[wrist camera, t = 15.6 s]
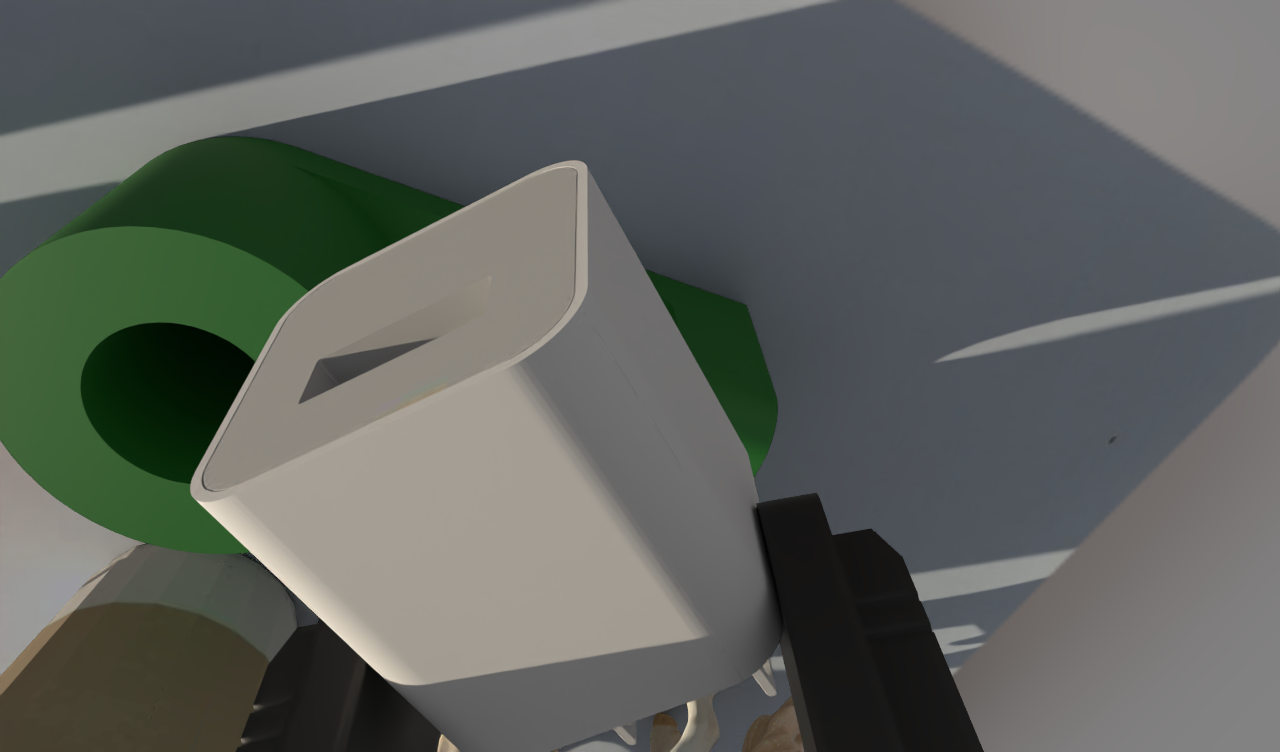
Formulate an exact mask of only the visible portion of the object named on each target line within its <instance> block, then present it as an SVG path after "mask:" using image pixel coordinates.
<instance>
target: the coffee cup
mask: <svg viewBox="0 0 1280 752" xmlns="http://www.w3.org/2000/svg"><path fill="white" fill-rule="evenodd" d="M297 627H298V626H297V619H296V612H295V606H294V603H293V602H292V600H291V598H290V597H289V595H288V593H287V592H286V590H285V588H284V587H283V585H282V583H280V582H279V581H278V580H277V579H276V578H275V577H274V576H273V575H271V574H270V573H269V572H268V571H267V570H266V569H265V568H264V567H262V566H261V565H260V564H258V563H256V562H254V561H253V560H251V559H249V558H247V557H245V556H243V555H241V554H239V553H237V554H204V553H192V552H185V551H179V550H173V549H167V548H163V547H159V546H155V545H151V544H145V545H141V546H136V547H134V548H133V549H131V550H129V551H128V552H126V553H124V554H122V555H121V556H119V557H117V558H115V559H114V560H113V561H112V562H111V563H110V564H109V565H108V566H107V567H105V568H103V569H102V570H100V571H98V572H96V573H95V574H93V575H92V576H91V577H90V578H89V580H88V581H87V582H86V583H85V584H84V585H83V586H82V587H81V588H80V589H79V591H78V592H77V593H76V594H75V595H74V596H73V597H72V598H71V599H70V600H69V601H68V603H67V604H66V605H65V606H64V607H63V608H62V609H61V610H60V611H59V612H58V614H57V615H56V616H55V617H54V618H53V619H52V620H51V621H50V622H49V623H48V625H47V626H46V627H45V628H44V629H43V630H42V631H41V632H40V633H39V634H38V636H37V637H36V638H35V639H34V640H33V641H32V642H31V643H30V644H29V645H28V646H27V648H26V649H25V650H24V651H23V652H22V653H21V654H20V655H19V656H18V657H17V659H16V660H15V661H14V662H13V663H12V664H11V665H10V666H9V667H8V668H7V670H6V671H5V672H4V673H3V674H2V675H1V676H0V752H236V750H237V747H241V744H242V741H241V736H242V733H243V731H244V728H245V725H246V723H247V720H248V717H249V715H250V713H253V712H254V706H253V704H254V701H255V698H256V696H257V693H258V690H259V688H260V685H261V682H262V680H263V677H264V674H265V672H266V669H267V666H268V664H269V663H270V662H271V661H272V659H273V658H274V657H275V655H276V654H277V653H278V652H279V650H280V649H281V648H282V647H283V645H284V644H285V643H286V641H287V640H288V639H289V638H290V636H291V635H292V634H293V633H294V631H295V630H296V629H297Z"/></svg>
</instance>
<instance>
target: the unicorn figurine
mask: <svg viewBox="0 0 1280 752" xmlns="http://www.w3.org/2000/svg"><path fill="white" fill-rule="evenodd" d="M716 694H717V692H716V693H713V694H711V695H708V696H705V697H702V698H699V699H697V700H694V701H691V702H688V703H687V706H688V724H687V726H686V728H685V731H684V733H683V736H681V733H680V731H678V729H677V723H676V721H675V720H674V719H673V718H672V717H670V716H669V715H667V714H664V713H657V714H656V715H655V718H654V721H653V728H652V730H651V734H650V747H651V752H710V751H711V749H712V748H713V746H714V745H715V743H716V742H717V741H718V739H719V736H720V730H719V726H718V722H717V719H716V716H715V713H714V710H713V706H712V700H713V698H714V696H715V695H716ZM558 751H559V749H556V750H553V751H550V752H558ZM803 751H804V748H803V743H802V739H801V734H800V730H799V726H798V721H797V717H796V712H795V708H794V704H793V699H792V696H791V697H790V698H789V699H788V700H787V701H786V702H785V703H784V704H783V705H782V706H781V707H780V708H779V710H778V711H776V712H775V713H774V714H772V715H762V716H759V717H758V718H757V719H756V720H755V721H754V722H753V723H752V725H751V726H750V728H749V730H748V732H747V734H746V737H745V739H744V743H743V747H742V752H803ZM438 752H461V751H460V750H459V749H458V748H457V747H455V746H454V745H453V744H452V743H451V742H450V741H449V740H448V739H447V738H446V737H445V736H444V735H443V734H442V735H441V737H440V739H439V745H438Z"/></svg>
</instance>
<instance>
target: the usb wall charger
mask: <svg viewBox="0 0 1280 752" xmlns="http://www.w3.org/2000/svg"><path fill="white" fill-rule="evenodd" d="M190 492H191V495H192V497H193V498H194V499H195V500H196V501H197V502H198V503H199V504H200V505H201V506H203V507H204V508H205V509H206V510H207V511H208V512H209V513H210V514H211V515H212V516H213V517H214V518H215V519H216V520H217V521H218V522H219V523H220V524H222V525H223V526H224V527H225V528H226V529H227V530H228V531H229V532H230V533H231V534H232V535H233V536H234V537H235V538H236V539H237V540H238V541H239V542H240V543H242V544H243V545H244V546H245V547H246V548H247V549H248V550H249V551H250V552H251V553H252V554H253V555H254V556H255V557H256V558H257V559H258V560H259V561H261V562H262V563H263V564H264V565H265V566H266V567H267V568H268V569H269V570H270V571H271V572H272V573H273V574H274V575H275V576H276V577H277V578H278V579H279V580H281V581H282V582H283V583H284V584H285V585H286V586H287V587H288V588H289V589H290V590H291V591H292V592H293V593H294V594H295V595H296V596H297V597H298V598H299V599H301V600H302V601H303V602H304V603H305V604H306V605H307V606H308V607H309V608H310V609H311V610H312V611H313V612H314V613H315V614H316V615H317V616H318V617H320V618H321V619H322V620H323V621H324V622H325V623H326V624H327V625H328V626H329V627H330V628H331V629H332V630H333V631H334V632H335V633H336V634H337V635H338V636H340V637H341V638H342V639H343V640H344V641H345V642H346V643H347V644H348V645H349V646H350V647H351V648H352V649H353V650H354V651H355V652H356V653H357V654H359V655H360V656H361V657H362V658H363V659H364V660H365V661H366V662H367V663H368V664H369V665H370V666H371V667H372V668H373V669H374V670H375V671H376V672H377V673H379V674H380V675H381V676H382V677H383V678H384V679H385V680H386V681H387V682H388V683H389V684H390V685H391V686H392V687H393V688H394V689H395V690H396V691H397V692H399V693H400V694H401V695H402V696H403V697H404V698H405V699H406V700H407V701H408V702H409V703H410V704H411V705H412V706H413V707H414V708H415V709H416V710H418V711H419V712H420V713H421V714H422V715H423V716H424V717H425V718H426V719H427V720H428V721H429V722H430V723H431V724H432V725H433V726H434V727H435V728H436V729H438V730H439V731H440V732H441V733H442V734H443V735H444V736H445V737H446V738H447V739H448V740H449V741H450V742H451V743H452V744H453V745H454V746H455V747H457V748H458V749H459V750H460V751H461V752H550V751H553V750H556V749H559V748H562V747H564V746H567V745H570V744H573V743H576V742H579V741H581V740H584V739H587V738H590V737H593V736H595V735H598V734H601V733H604V732H607V731H609V730H612V729H613V730H614V731H615V732H616V733H617V734H618V735H619V736H620V737H621V738H622V739H623V740H624V741H625V742H626V743H627V744H629V745H635V744H636V743H637V737H636V721H638V720H640V719H643V718H646V717H649V716H652V715H654V714H657V713H660V712H663V711H666V710H668V709H671V708H674V707H677V706H680V705H683V704H685V703H688V702H691V701H694V700H697V699H699V698H702V697H705V696H708V695H711V694H713V693H716V692H719V691H722V690H725V689H728V688H730V687H733V686H735V685H737V684H739V683H741V682H743V681H744V680H746V679H747V678H749V677H750V676H752V675H753V677H754V678H755V679H756V681H757V682H758V683H759V685H760V686H761V687H762V689H763V690H764V691H765V693H766V694H767V695H769V696H775V695H776V694H777V690H776V685H775V681H774V676H773V671H772V666H771V661H770V657H771V655H772V654H773V652H774V651H775V649H776V647H777V645H778V643H779V641H780V639H781V636H782V633H783V629H784V627H783V621H782V616H781V611H780V606H779V601H778V597H777V592H776V588H775V584H774V580H773V575H772V571H771V567H770V563H769V558H768V554H767V550H766V545H765V541H764V537H763V533H762V528H761V524H760V520H759V516H758V511H757V506H756V503H759V498H758V494H757V490H756V486H755V482H754V477H753V473H752V469H751V465H750V460H749V456H748V453H747V451H746V449H745V447H744V445H743V444H742V442H741V440H740V438H739V437H738V435H737V433H736V431H735V429H734V428H733V426H732V424H731V422H730V420H729V419H728V417H727V415H726V413H725V412H724V410H723V408H722V406H721V404H720V403H719V401H718V399H717V397H716V396H715V394H714V392H713V390H712V388H711V387H710V385H709V383H708V381H707V380H706V378H705V376H704V374H703V372H702V371H701V369H700V367H699V365H698V364H697V362H696V360H695V358H694V356H693V355H692V353H691V351H690V349H689V348H688V346H687V344H686V342H685V340H684V339H683V337H682V335H681V333H680V331H679V330H678V328H677V326H676V324H675V323H674V321H673V319H672V317H671V315H670V314H669V312H668V310H667V308H666V307H665V305H664V303H663V301H662V299H661V298H660V296H659V294H658V292H657V291H656V289H655V287H654V285H653V283H652V282H651V280H650V278H649V276H648V275H647V273H646V271H645V269H644V267H643V266H642V264H641V262H640V260H639V258H638V257H637V255H636V253H635V251H634V250H633V248H632V246H631V244H630V242H629V241H628V239H627V237H626V235H625V234H624V232H623V230H622V228H621V226H620V225H619V223H618V221H617V219H616V218H615V216H614V214H613V212H612V210H611V209H610V207H609V205H608V203H607V202H606V200H605V198H604V196H603V194H602V193H601V191H600V189H599V187H598V186H597V184H596V182H595V180H594V178H593V177H592V175H591V173H590V171H589V169H588V168H587V166H586V164H585V163H583V162H581V161H564V162H560V163H556V164H553V165H550V166H547V167H544V168H542V169H539V170H537V171H535V172H533V173H531V174H529V175H527V176H525V177H523V178H521V179H519V180H517V181H515V182H513V183H511V184H509V185H507V186H505V187H503V188H501V189H499V190H497V191H496V192H494V193H492V194H490V195H488V196H486V197H484V198H482V199H480V200H478V201H476V202H474V203H472V204H470V205H468V206H466V207H464V208H462V209H460V210H458V211H456V212H454V213H452V214H451V215H449V216H447V217H445V218H443V219H441V220H439V221H437V222H435V223H433V224H431V225H429V226H427V227H425V228H423V229H421V230H419V231H417V232H415V233H413V234H411V235H409V236H408V237H406V238H404V239H402V240H400V241H398V242H396V243H394V244H392V245H390V246H388V247H386V248H384V249H382V250H380V251H378V252H376V253H374V254H372V255H370V256H368V257H366V258H365V259H363V260H361V261H359V262H357V263H355V264H353V265H351V266H349V267H347V268H345V269H343V270H341V271H339V272H337V273H336V274H334V275H332V276H331V277H329V278H327V279H326V280H324V281H323V282H321V283H320V284H318V285H317V286H316V287H314V288H313V289H312V290H310V291H309V292H308V293H307V294H305V295H304V296H303V297H302V298H300V299H299V300H298V301H297V302H296V303H295V304H294V305H293V306H292V307H291V308H290V309H289V310H288V311H287V312H286V313H285V314H284V315H283V316H282V318H281V319H280V320H279V322H278V323H277V325H276V326H275V328H274V330H273V332H272V333H271V335H270V337H269V339H268V341H267V342H266V344H265V346H264V348H263V350H262V351H261V353H260V355H259V357H258V359H257V361H256V362H255V364H254V366H253V368H252V370H251V371H250V373H249V375H248V377H247V379H246V380H245V382H244V384H243V386H242V388H241V389H240V391H239V393H238V395H237V397H236V399H235V400H234V402H233V404H232V406H231V408H230V409H229V411H228V413H227V415H226V417H225V418H224V420H223V422H222V424H221V426H220V428H219V429H218V431H217V433H216V435H215V437H214V438H213V440H212V442H211V444H210V446H209V447H208V449H207V451H206V453H205V455H204V457H203V458H202V460H201V462H200V464H199V466H198V467H197V469H196V471H195V473H194V475H193V478H192V481H191V485H190Z"/></svg>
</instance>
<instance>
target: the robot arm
mask: <svg viewBox="0 0 1280 752" xmlns="http://www.w3.org/2000/svg"><path fill="white" fill-rule="evenodd" d="M756 506H757V511H758V516H759V520H760V524H761V528H762V533H763V537H764V541H765V545H766V550H767V554H768V558H769V563H770V567H771V571H772V575H773V580H774V584H775V588H776V592H777V597H778V601H779V606H780V611H781V616H782V621H783V627H784V629H783V633H782V636H781V639H780V641H779V642H780V647H781V651H782V655H783V660H784V664H785V669H786V673H787V677H788V682H789V686H790V691H791V695H792V699H793V704H794V708H795V712H796V717H797V721H798V726H799V730H800V734H801V739H802V743H803V748H804V752H984V751H983V749H982V746H981V744H980V742H979V739H978V737H977V734H976V732H975V730H974V727H973V725H972V723H971V720H970V718H969V715H968V713H967V711H966V708H965V706H964V703H963V701H962V698H961V696H960V694H959V691H958V689H957V687H956V684H955V682H954V679H953V677H952V674H951V672H950V670H949V667H948V665H947V662H946V660H945V658H944V655H943V653H942V650H941V648H940V646H939V643H938V641H937V638H936V636H935V634H934V632H932V629H931V624H930V622H929V619H928V617H927V614H926V612H925V610H924V607H923V605H922V603H921V601H919V598H918V593H917V591H916V588H915V586H914V583H913V581H912V579H911V576H910V574H909V571H908V569H907V567H906V564H905V562H904V559H903V557H902V556H901V555H900V554H899V553H898V552H897V551H895V550H894V549H893V548H892V547H891V546H890V545H889V544H888V543H887V542H886V541H884V540H883V539H882V538H881V537H880V536H879V535H878V534H877V533H876V532H875V531H873V530H872V529H866V530H860V531H854V532H848V533H843V534H837V535H832V534H831V531H830V528H829V525H828V522H827V519H826V516H825V513H824V510H823V507H822V504H821V501H820V498H819V496H818V494H817V493H811V494H806V495H800V496H794V497H789V498H783V499H777V500H772V501H766V502H760V503H756ZM253 706H254V712H253V713H250V715H249V717H248V720H247V723H246V725H245V728H244V731H243V733H242V736H241V741H242V744H241V747H237V750H236V752H438V745H439V739H440V733H441V732H440V731H439V730H438V729H436V728H435V727H434V726H433V725H432V724H431V723H430V722H429V721H428V720H427V719H426V718H425V717H424V716H423V715H422V714H421V713H420V712H419V711H418V710H416V709H415V708H414V707H413V706H412V705H411V704H410V703H409V702H408V701H407V700H406V699H405V698H404V697H403V696H402V695H401V694H400V693H399V692H397V691H396V690H395V689H394V688H393V687H392V686H391V685H390V684H389V683H388V682H387V681H386V680H385V679H384V678H383V677H382V676H381V675H380V674H379V673H377V672H376V671H375V670H374V669H373V668H372V667H371V666H370V665H369V664H368V663H367V662H366V661H365V660H364V659H363V658H362V657H361V656H360V655H359V654H357V653H356V652H355V651H354V650H353V649H352V648H351V647H350V646H349V645H348V644H347V643H346V642H345V641H344V640H343V639H342V638H341V637H340V636H338V635H337V634H336V633H335V632H334V631H333V630H332V629H331V628H330V627H329V626H328V625H327V624H326V623H325V622H324V621H323V620H322V619H321V618H320V617H319V620H318V623H317V624H315V625H309V626H303V627H297V629H296V630H295V631H294V633H293V634H292V635H291V636H290V638H289V639H288V640H287V641H286V643H285V644H284V645H283V647H282V648H281V649H280V650H279V652H278V653H277V654H276V655H275V657H274V658H273V659H272V661H271V662H270V663H269V664H268V666H267V669H266V672H265V674H264V677H263V680H262V682H261V685H260V688H259V690H258V693H257V696H256V698H255V701H254V704H253Z"/></svg>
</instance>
